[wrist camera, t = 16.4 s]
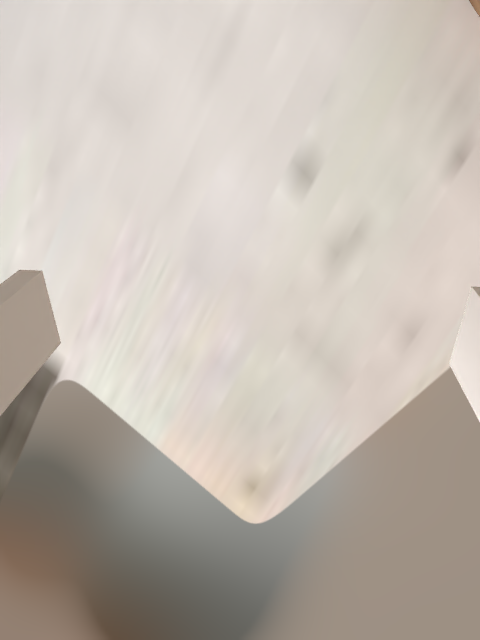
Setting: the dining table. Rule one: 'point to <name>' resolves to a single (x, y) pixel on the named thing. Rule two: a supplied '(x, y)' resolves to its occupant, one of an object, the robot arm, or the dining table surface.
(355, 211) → the dining table surface
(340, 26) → the dining table surface
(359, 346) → the dining table surface
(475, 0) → the tray
